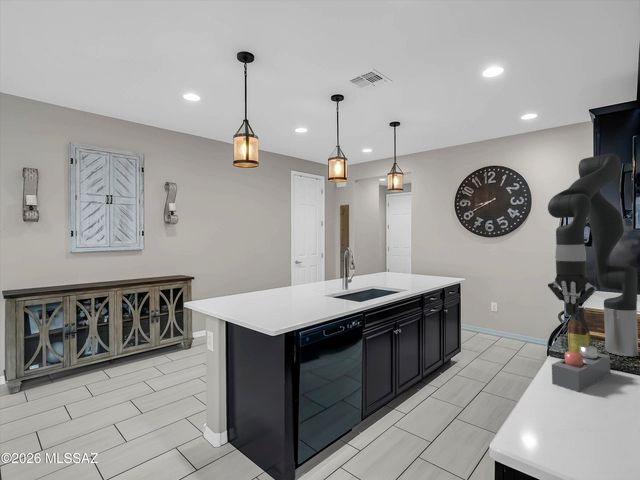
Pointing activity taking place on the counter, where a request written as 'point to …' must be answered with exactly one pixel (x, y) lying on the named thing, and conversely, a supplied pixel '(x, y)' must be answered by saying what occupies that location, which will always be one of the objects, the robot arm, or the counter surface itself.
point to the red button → (574, 359)
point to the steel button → (588, 352)
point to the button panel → (580, 373)
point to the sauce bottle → (578, 331)
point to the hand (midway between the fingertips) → (572, 315)
